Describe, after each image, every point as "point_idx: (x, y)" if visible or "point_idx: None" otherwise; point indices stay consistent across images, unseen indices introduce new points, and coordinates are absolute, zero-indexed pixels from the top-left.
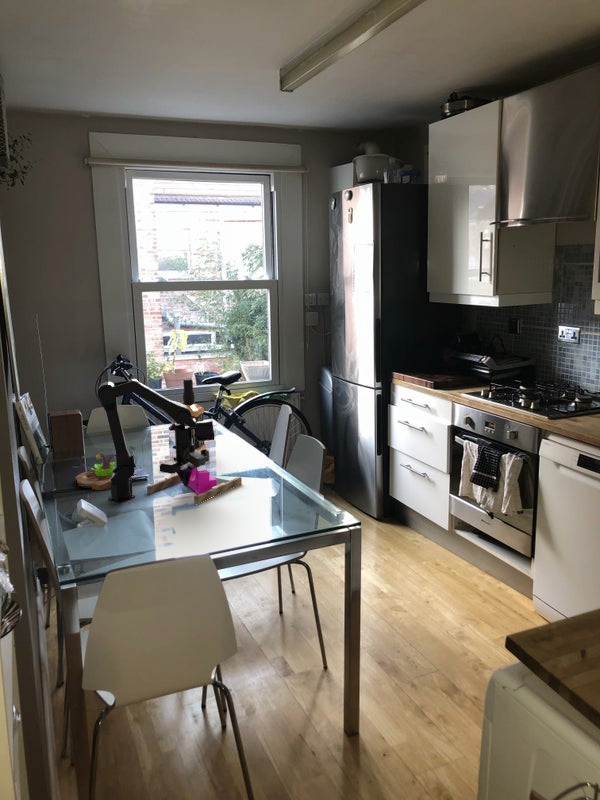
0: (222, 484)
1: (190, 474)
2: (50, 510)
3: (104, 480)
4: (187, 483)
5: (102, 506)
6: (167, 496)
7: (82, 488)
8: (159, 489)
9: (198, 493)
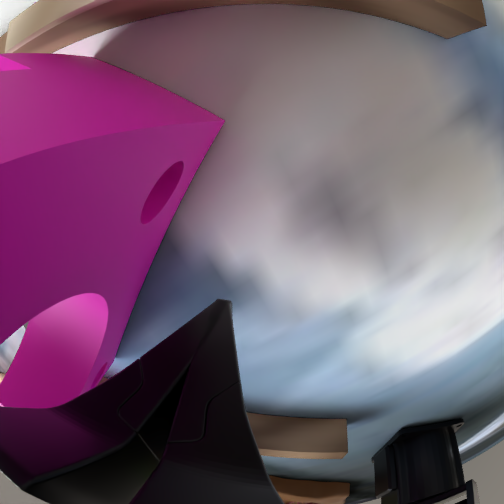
0: (32, 10)
1: (116, 385)
2: (486, 450)
3: (317, 502)
4: (212, 318)
5: (485, 422)
6: (363, 344)
7: None
8: (273, 417)
9: (212, 139)
